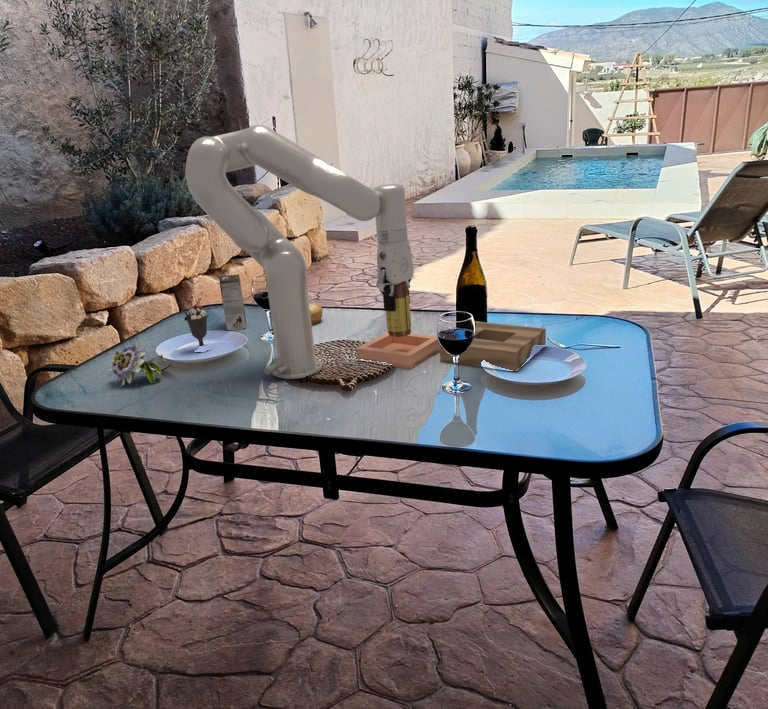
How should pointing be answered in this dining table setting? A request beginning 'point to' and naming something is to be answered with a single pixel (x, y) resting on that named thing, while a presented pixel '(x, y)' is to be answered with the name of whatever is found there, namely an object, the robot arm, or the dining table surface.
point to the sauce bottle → (399, 312)
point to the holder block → (499, 345)
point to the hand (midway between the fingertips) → (397, 306)
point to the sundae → (197, 322)
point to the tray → (399, 349)
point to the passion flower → (133, 365)
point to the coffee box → (232, 302)
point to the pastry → (315, 313)
